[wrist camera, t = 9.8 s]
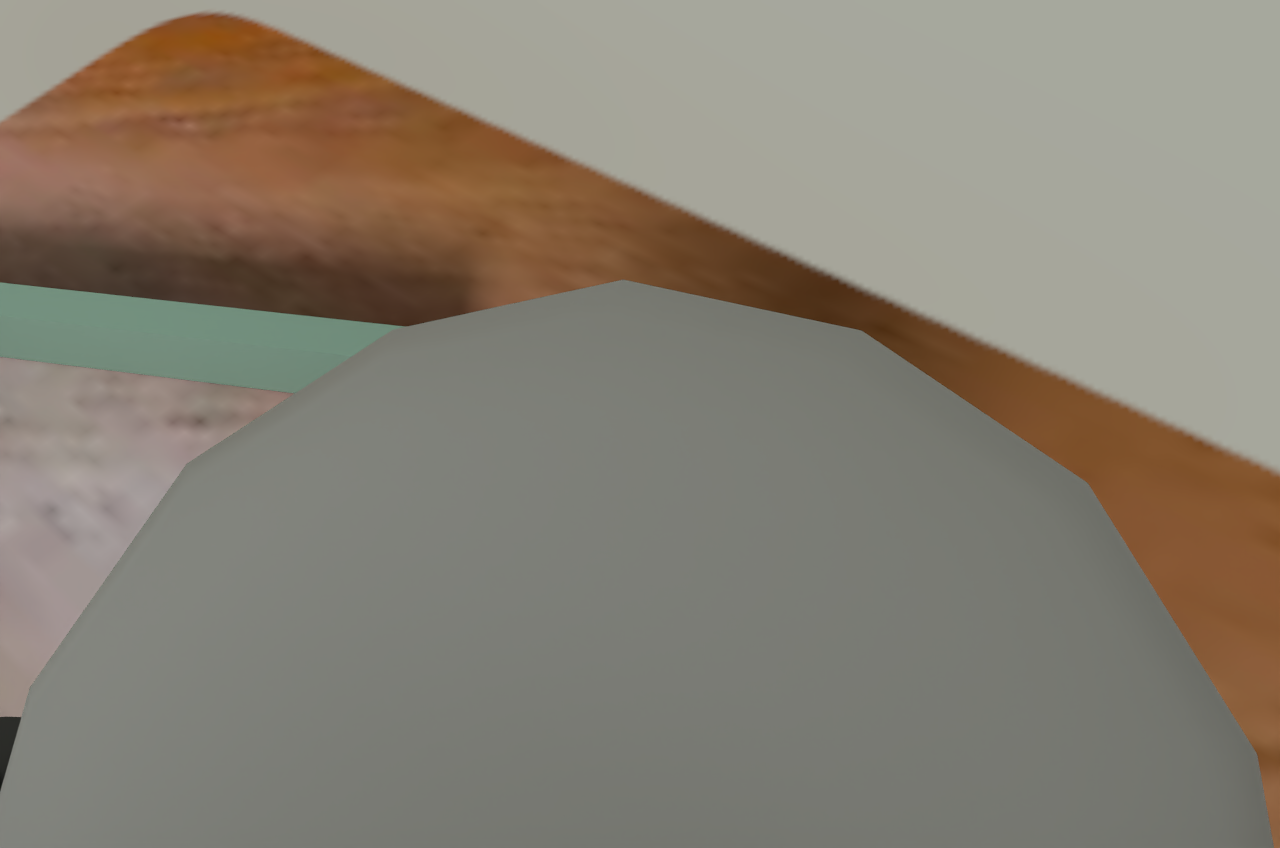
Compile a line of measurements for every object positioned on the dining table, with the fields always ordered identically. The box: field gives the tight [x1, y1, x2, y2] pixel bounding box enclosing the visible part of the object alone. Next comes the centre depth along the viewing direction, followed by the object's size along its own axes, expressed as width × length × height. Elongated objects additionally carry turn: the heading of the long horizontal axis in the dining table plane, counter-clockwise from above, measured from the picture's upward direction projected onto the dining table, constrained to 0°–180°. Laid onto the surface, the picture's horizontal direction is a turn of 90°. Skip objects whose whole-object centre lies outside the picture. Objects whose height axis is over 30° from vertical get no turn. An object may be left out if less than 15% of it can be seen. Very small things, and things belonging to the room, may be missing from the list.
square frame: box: [0, 283, 404, 393], centre depth 19 cm, size 15×15×3 cm
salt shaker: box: [0, 280, 1274, 848], centre depth 8 cm, size 6×6×13 cm
